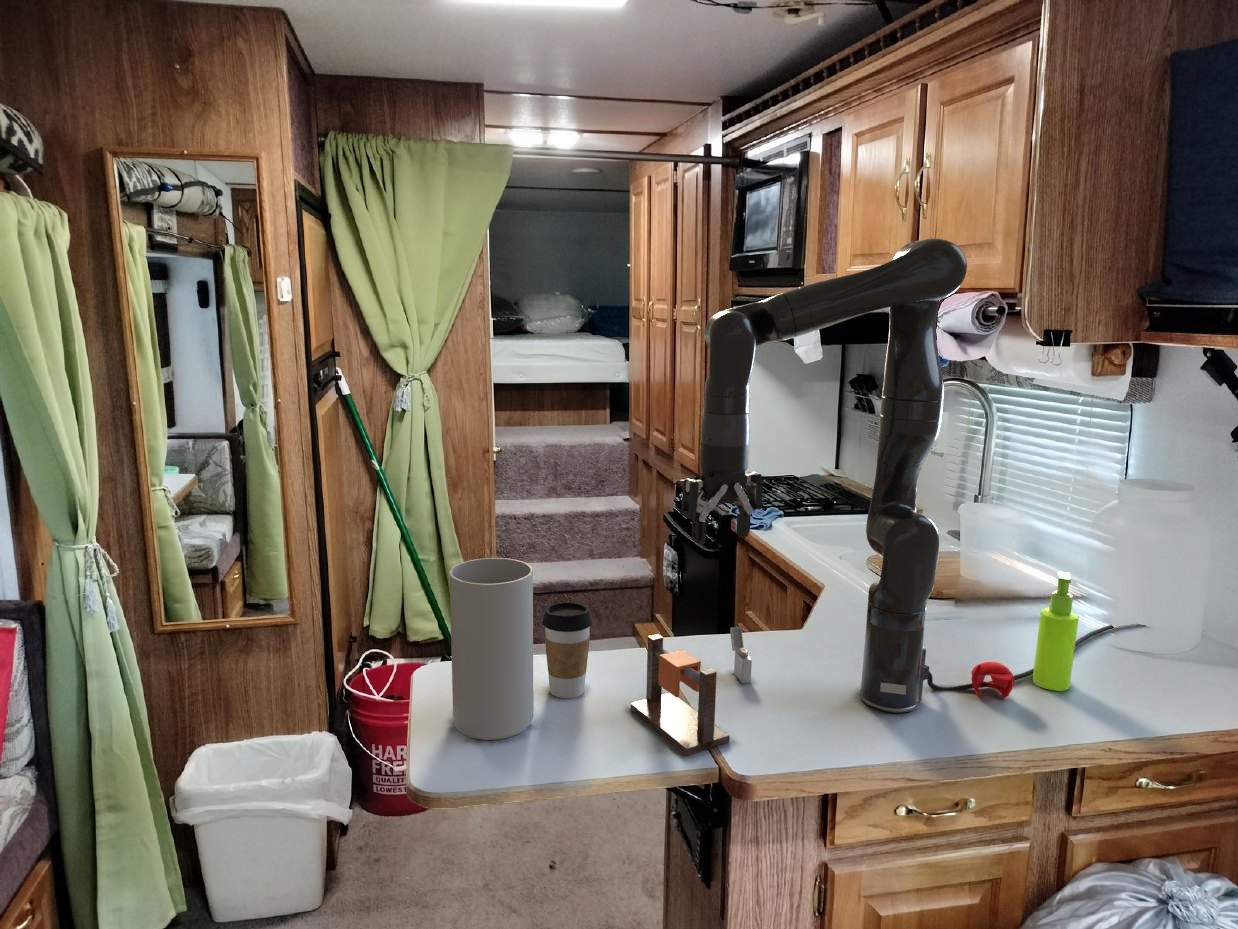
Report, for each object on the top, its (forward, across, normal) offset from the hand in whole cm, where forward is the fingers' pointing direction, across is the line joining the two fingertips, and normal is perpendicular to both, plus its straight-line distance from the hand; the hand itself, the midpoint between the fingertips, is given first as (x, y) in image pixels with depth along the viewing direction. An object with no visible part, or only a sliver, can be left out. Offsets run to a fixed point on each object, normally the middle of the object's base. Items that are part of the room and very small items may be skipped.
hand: (721, 539), depth 136 cm
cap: (+28, +43, -21) cm, 56 cm away
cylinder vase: (+28, -35, +11) cm, 46 cm away
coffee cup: (+28, -20, +15) cm, 38 cm away
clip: (+22, -10, -4) cm, 24 cm away
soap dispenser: (+28, +57, -23) cm, 68 cm away
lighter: (+28, +10, +6) cm, 31 cm away
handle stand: (+28, -10, -4) cm, 30 cm away
